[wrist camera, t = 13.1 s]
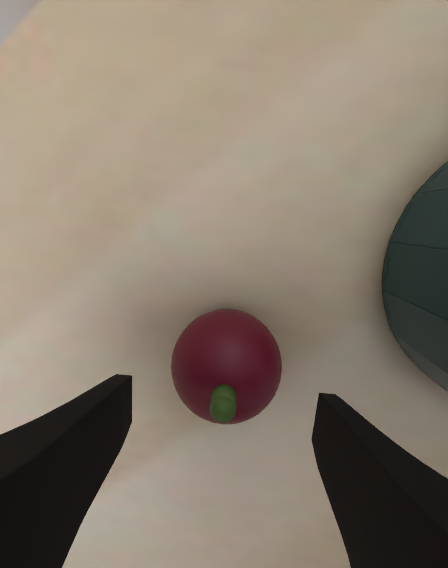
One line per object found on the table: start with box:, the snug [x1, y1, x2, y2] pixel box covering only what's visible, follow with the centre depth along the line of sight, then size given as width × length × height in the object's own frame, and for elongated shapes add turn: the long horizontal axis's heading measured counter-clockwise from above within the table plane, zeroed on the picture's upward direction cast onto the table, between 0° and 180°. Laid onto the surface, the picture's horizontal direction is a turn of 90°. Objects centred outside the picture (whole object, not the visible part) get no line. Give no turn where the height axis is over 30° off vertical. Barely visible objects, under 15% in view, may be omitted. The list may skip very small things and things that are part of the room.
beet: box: [171, 310, 282, 424], centre depth 14 cm, size 5×5×7 cm
